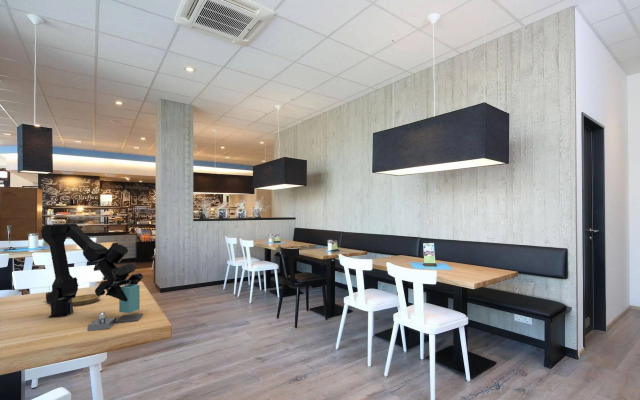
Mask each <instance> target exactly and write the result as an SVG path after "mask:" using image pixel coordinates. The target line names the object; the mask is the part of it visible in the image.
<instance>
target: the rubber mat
mask: <svg viewBox="0 0 640 400" xmlns="http://www.w3.org/2000/svg"><path fill="white" fill-rule="evenodd" d="M142 315H143V316H144V313H135V314H125V315H121V316H120V317H118V318H117V319H116V321H115V324H123V323H132V322H138V321H139V320H140V319H141V318H142V317H143V316H142Z"/></svg>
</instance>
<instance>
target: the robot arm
mask: <svg viewBox="0 0 640 400" xmlns="http://www.w3.org/2000/svg"><path fill="white" fill-rule="evenodd" d="M40 233H41V236H42V239H43V241H44V242H45V243H46V244H47V245H48V246H49V250H50V256H51V260H52V265H53V266H52V267H53V272H54V280H53V282H52V285H51V293H50V294H49V295H48V296H47V298H46V297H45V300H46V299H47V302H46V303H48V304H50V303H51V304H50V315H48V318H55V317H56V318H58V317H59V318H60V317H66V316H68V315H70V314H72V313H74V306H73V302H72V299H71V298H75V296H77V293H78V290H79V283H78V278H77V277H73V276H72V275H71V273H70V267H69V262H68V261H69V260H68V257H67V251H66V247H65V242H66V241H67V240H66V239H67V238H68V237H69V238H70V239H71V240H72V241H73V243H75V244H76V245H77V246H78V247H79V248H80V249H81V250H82V255H83V257H84V258H85V260H86V261H87V262H89V263H95V262H98V263H96V264H94V268H93V272H97V271H100V272H101V273H100V274H102V275H103V278H102V280H103V281H101V282H100V283H99V284H98V285H97V287H96V288H95V289H94V294H96V295H97V296H100V297H101V296H104V295H105V296H106V297H108V296H109V297H112V298H115V299H117V300H119V299H120V300H122V301H125V302H126V301H127V300H128V299H127V297H126V296H125V294H124V293H123V291H122V290H121V288H120V287H122V286H125V285H129V284H133V285H139V283H140V281H141V280H142V279H143V278H144V275H143V274H142V273H141V272H137V273H133V272H136V270H137V265H136V264H135V263H134V262H130V263H128V264H124V265H122V266H119V267H118V265H117V264H119V263H120V262H121V261H122V260H123V259H124V257H125V256H126V255H127V254H128V252H129V249H128V247H127V246H125V245H123V244H119V243H118V242H113V243H112V244H111V245H110V246H109V248H107V247H106V246H104V245H103V244H101V243H98V242H95V241H94V240H93V239H92V238H90V236H89V235H87V234H86V233H85V232H84V231H83V230H82V229H81V228H80V227H79V225H78V224H77V223H76V222H75V223H74V222H71V223H57V224H53V223H52V224H45V225H43V227H42V228H41V232H40ZM131 273H133V274H131ZM130 274H131V276H130ZM129 276H130V277H129ZM128 277H129V278H128ZM105 290H106V291H105Z"/></svg>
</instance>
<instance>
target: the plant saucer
mask: <svg viewBox="0 0 640 400" xmlns="http://www.w3.org/2000/svg"><path fill="white" fill-rule="evenodd" d="M100 297H101V296H97V295H96V293H90V294H82V295H76V296H75V298H71V299H72V302H73V307H74V306H75V307H77V306H84V305H90V304H92V303H96V302H97V301H98V300H99V299H100Z"/></svg>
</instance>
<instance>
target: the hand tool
mask: <svg viewBox="0 0 640 400" xmlns="http://www.w3.org/2000/svg"><path fill="white" fill-rule="evenodd" d="M50 293H51V292H50V291H49V292H48V291H47V292H46V293H45V300H46V303H47V299H46V298H47V296H48V295H49V294H50ZM49 304H50V305H51V303H49Z"/></svg>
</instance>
